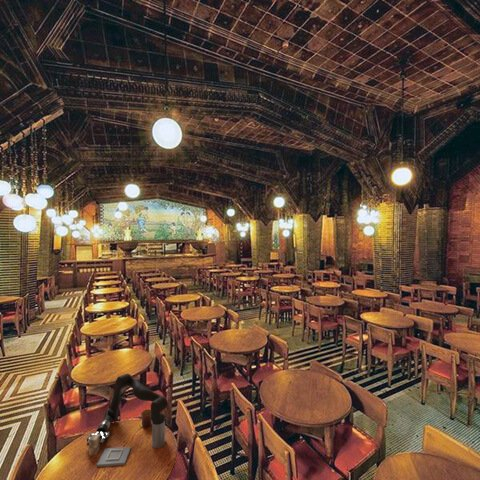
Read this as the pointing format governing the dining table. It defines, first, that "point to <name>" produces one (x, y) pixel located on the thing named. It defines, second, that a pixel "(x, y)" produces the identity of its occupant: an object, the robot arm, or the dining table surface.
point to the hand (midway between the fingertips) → (94, 444)
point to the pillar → (94, 444)
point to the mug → (146, 418)
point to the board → (114, 456)
